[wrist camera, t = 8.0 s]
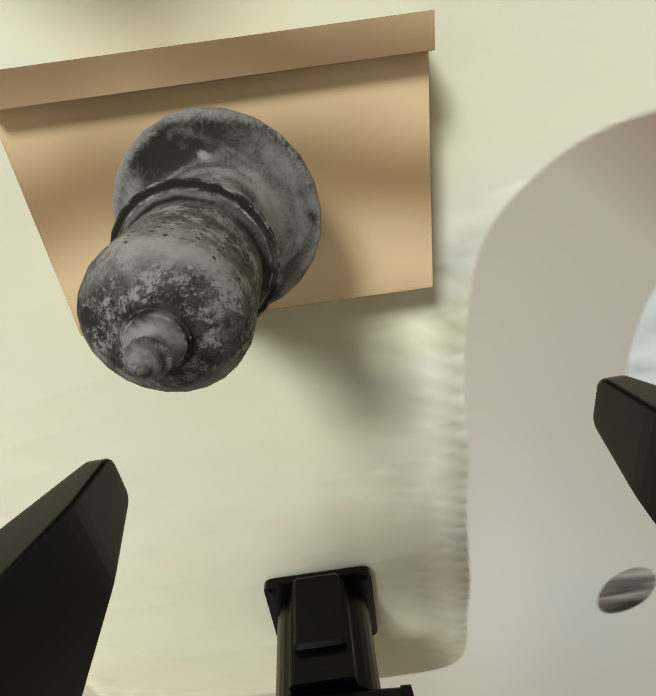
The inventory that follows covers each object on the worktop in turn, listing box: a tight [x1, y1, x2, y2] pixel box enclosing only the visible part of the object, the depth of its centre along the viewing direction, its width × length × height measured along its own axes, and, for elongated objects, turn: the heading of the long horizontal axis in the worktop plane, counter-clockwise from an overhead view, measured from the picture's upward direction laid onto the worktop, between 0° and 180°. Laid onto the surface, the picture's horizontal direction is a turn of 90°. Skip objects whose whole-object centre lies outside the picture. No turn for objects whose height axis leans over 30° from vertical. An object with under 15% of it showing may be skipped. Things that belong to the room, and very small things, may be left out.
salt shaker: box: [77, 107, 321, 392], centre depth 12 cm, size 6×6×12 cm
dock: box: [0, 10, 435, 336], centre depth 18 cm, size 9×14×3 cm, turn 97°
